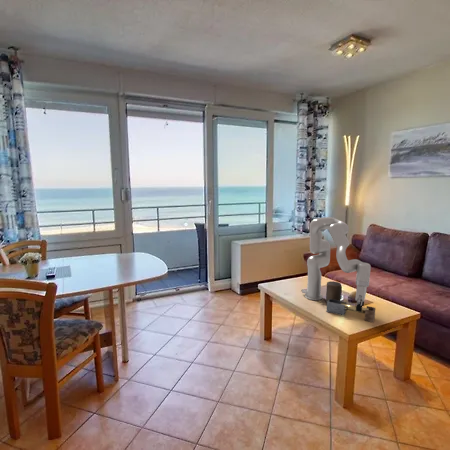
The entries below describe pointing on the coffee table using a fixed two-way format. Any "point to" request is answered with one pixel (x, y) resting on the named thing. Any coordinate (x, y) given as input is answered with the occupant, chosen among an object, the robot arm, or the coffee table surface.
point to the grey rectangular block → (336, 307)
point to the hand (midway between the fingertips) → (359, 308)
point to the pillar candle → (333, 290)
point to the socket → (370, 314)
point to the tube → (353, 308)
